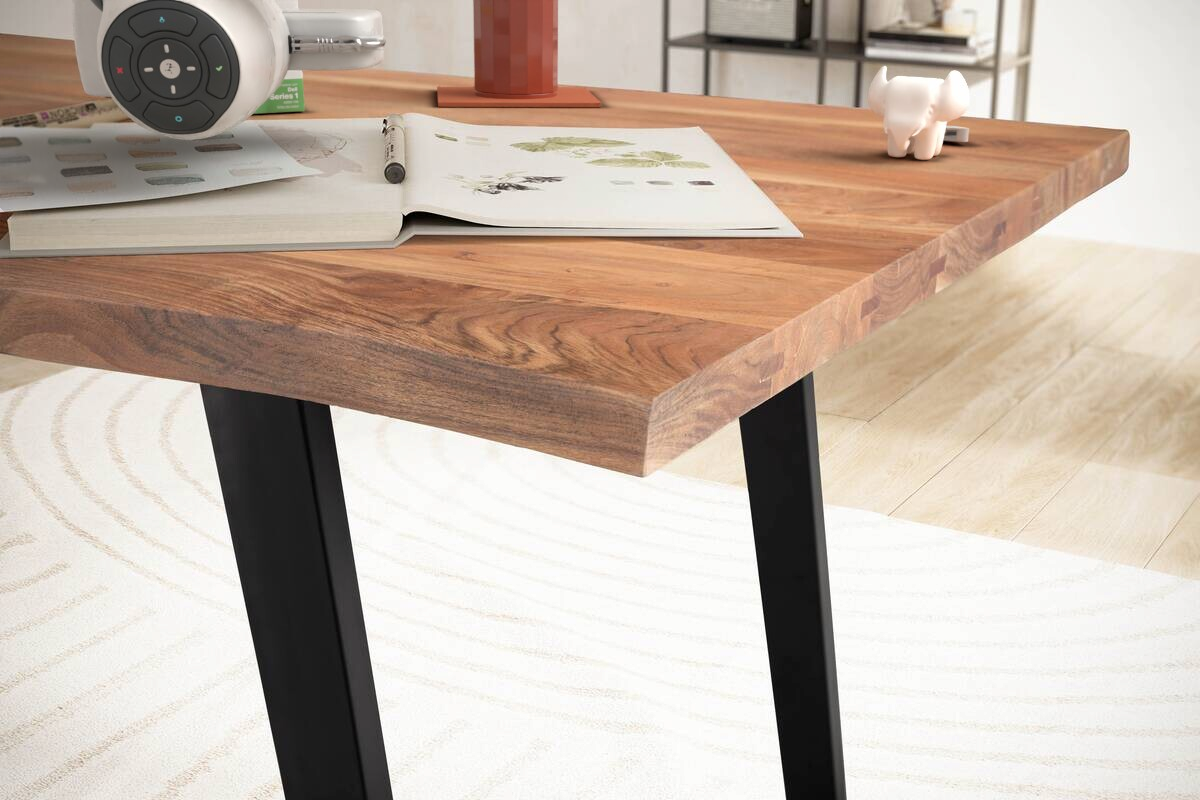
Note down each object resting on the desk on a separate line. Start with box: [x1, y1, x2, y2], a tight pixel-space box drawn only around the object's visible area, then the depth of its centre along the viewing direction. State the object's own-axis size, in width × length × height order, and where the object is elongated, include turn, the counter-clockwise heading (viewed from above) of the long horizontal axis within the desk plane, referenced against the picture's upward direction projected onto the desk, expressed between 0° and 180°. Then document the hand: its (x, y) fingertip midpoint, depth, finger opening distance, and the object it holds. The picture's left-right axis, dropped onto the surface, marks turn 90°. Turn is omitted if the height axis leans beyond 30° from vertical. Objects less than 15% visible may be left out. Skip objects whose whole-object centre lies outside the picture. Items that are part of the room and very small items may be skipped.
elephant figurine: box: [867, 65, 970, 161], centre depth 86 cm, size 7×8×6 cm
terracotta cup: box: [472, 0, 559, 99], centre depth 114 cm, size 7×7×9 cm
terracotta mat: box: [436, 86, 602, 108], centre depth 115 cm, size 14×12×1 cm
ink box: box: [252, 0, 306, 115], centre depth 104 cm, size 8×5×12 cm, turn 29°
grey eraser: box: [943, 125, 970, 143], centre depth 95 cm, size 6×2×1 cm, turn 24°
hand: (247, 30), depth 94 cm, fingers open, 8 cm apart
